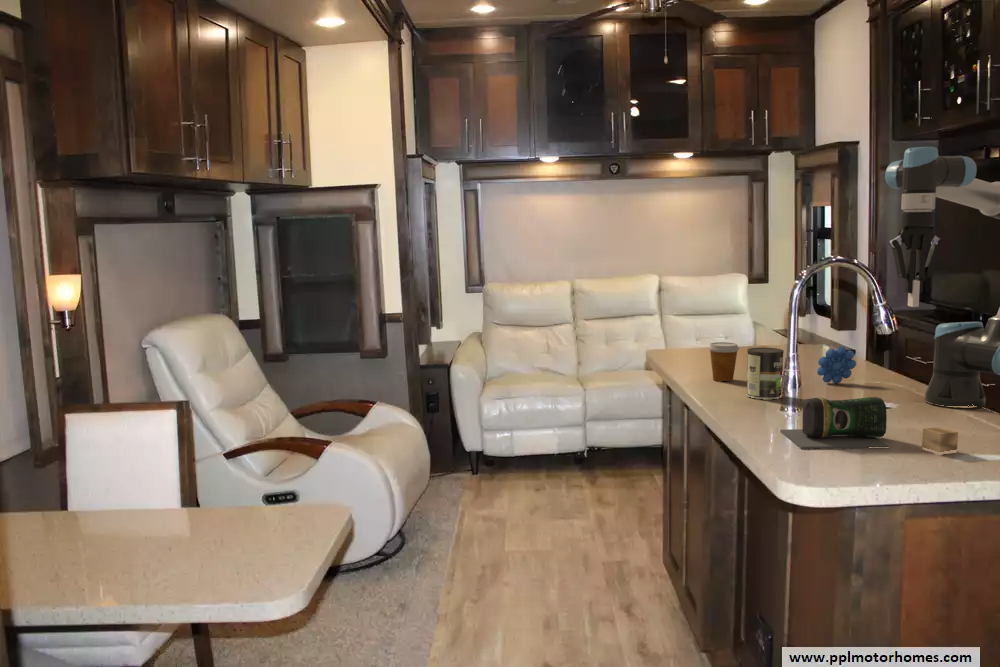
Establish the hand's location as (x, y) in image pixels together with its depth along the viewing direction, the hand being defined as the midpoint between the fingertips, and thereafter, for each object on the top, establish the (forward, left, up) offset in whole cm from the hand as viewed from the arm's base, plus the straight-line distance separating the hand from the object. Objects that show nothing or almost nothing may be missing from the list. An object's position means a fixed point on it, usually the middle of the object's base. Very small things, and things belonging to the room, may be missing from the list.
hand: (913, 306), depth 214 cm
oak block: (+4, +25, -31) cm, 40 cm away
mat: (+24, +14, -30) cm, 41 cm away
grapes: (-2, -55, -31) cm, 63 cm away
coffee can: (+26, -36, -31) cm, 54 cm away
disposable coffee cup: (+32, -62, -31) cm, 76 cm away
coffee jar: (+12, +14, -25) cm, 31 cm away
